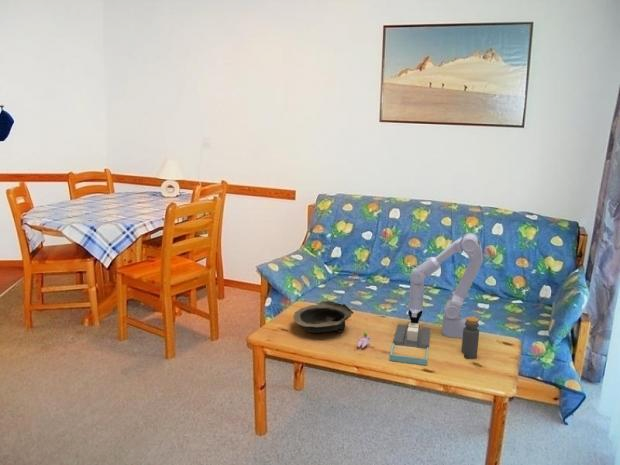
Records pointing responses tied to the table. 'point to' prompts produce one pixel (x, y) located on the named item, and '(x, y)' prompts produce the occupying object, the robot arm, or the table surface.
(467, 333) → the bottle
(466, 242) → the robot arm
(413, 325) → the cream cube block
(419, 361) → the tray
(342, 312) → the stone bowl
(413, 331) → the beige cube
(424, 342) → the slotted plate
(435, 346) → the table surface
